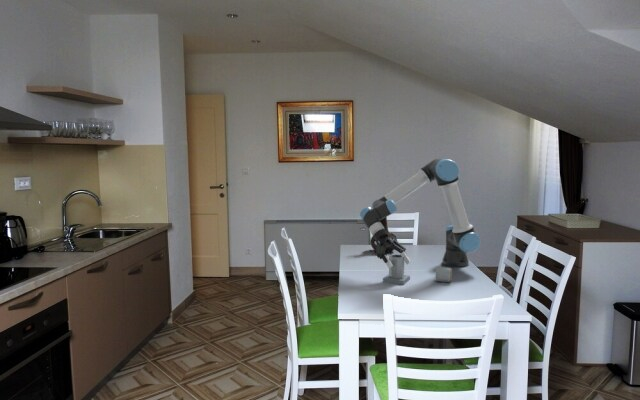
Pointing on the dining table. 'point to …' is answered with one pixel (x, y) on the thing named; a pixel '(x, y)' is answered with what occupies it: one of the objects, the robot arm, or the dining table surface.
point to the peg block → (396, 280)
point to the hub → (396, 266)
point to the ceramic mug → (443, 274)
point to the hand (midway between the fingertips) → (400, 265)
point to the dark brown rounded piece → (388, 249)
